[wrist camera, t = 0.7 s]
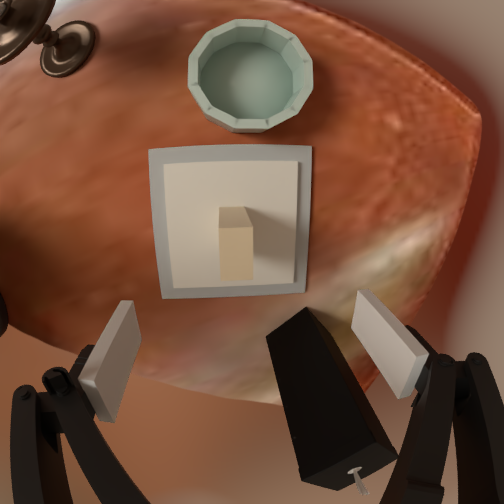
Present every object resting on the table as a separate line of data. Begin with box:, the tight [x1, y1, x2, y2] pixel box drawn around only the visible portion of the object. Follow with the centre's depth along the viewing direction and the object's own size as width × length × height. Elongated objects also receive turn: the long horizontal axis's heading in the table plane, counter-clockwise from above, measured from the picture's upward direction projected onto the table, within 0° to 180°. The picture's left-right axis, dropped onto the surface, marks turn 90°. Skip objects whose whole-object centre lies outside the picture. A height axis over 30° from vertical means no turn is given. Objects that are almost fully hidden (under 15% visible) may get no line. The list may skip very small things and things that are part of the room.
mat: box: [148, 144, 312, 299], centre depth 36 cm, size 20×20×1 cm
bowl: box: [188, 19, 313, 133], centre depth 28 cm, size 13×13×6 cm
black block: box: [266, 307, 399, 495], centre depth 30 cm, size 8×8×28 cm
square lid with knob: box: [163, 161, 298, 288], centre depth 31 cm, size 16×16×11 cm
